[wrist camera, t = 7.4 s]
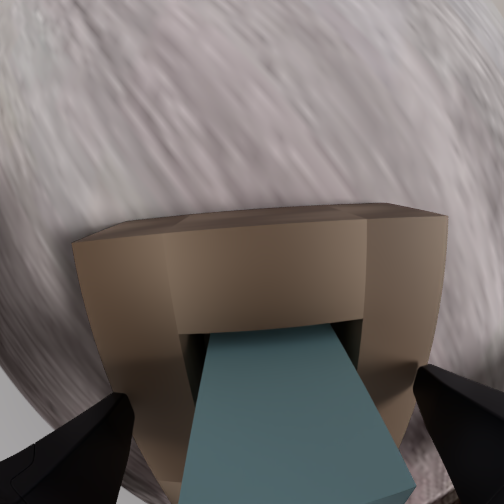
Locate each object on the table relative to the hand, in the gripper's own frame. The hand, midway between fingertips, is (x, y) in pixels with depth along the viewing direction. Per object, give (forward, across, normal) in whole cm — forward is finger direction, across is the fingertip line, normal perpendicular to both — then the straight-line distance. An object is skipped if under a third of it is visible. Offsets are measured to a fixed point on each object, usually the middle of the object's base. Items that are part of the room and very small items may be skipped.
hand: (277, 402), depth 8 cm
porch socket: (+4, 0, +4) cm, 6 cm away
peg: (+3, 0, 0) cm, 3 cm away
